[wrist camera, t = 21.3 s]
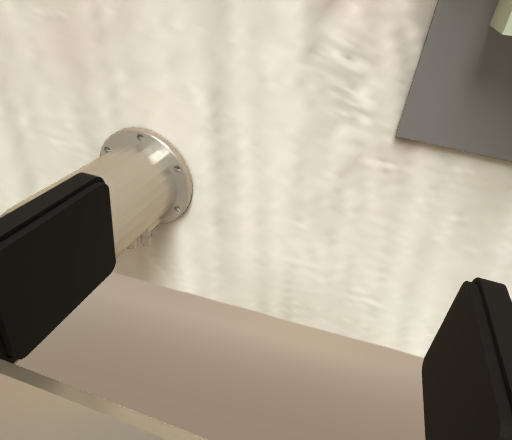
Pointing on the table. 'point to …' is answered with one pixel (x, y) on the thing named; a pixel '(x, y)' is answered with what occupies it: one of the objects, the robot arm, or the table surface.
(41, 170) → the table surface
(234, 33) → the table surface
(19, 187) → the table surface
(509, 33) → the sage block
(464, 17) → the board
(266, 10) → the table surface
